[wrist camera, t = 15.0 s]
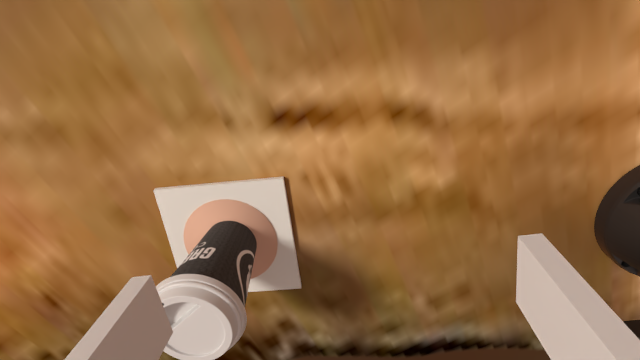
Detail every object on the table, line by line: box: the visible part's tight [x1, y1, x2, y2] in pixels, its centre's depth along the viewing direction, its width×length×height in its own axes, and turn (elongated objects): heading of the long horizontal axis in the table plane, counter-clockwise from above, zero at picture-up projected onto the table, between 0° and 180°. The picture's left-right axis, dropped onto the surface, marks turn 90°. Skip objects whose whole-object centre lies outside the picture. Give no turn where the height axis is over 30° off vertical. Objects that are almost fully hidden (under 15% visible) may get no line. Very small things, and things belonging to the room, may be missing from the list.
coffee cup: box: [156, 221, 257, 360], centre depth 43 cm, size 10×10×15 cm
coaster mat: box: [154, 177, 302, 292], centre depth 50 cm, size 16×16×1 cm
